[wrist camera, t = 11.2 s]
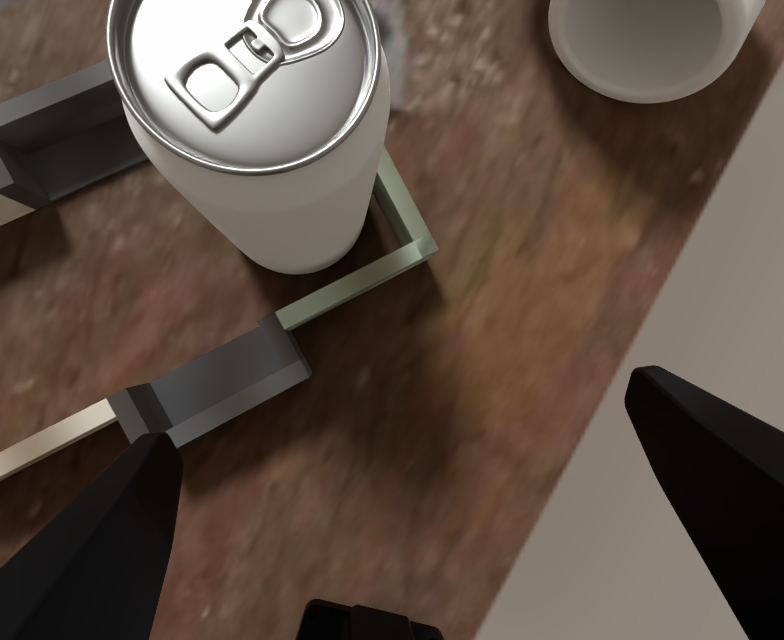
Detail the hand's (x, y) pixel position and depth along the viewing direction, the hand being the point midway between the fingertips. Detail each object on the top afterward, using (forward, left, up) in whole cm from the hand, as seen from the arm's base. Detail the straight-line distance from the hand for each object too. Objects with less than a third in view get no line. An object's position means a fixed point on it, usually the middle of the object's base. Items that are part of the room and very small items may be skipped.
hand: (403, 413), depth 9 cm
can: (+6, +5, -13) cm, 15 cm away
